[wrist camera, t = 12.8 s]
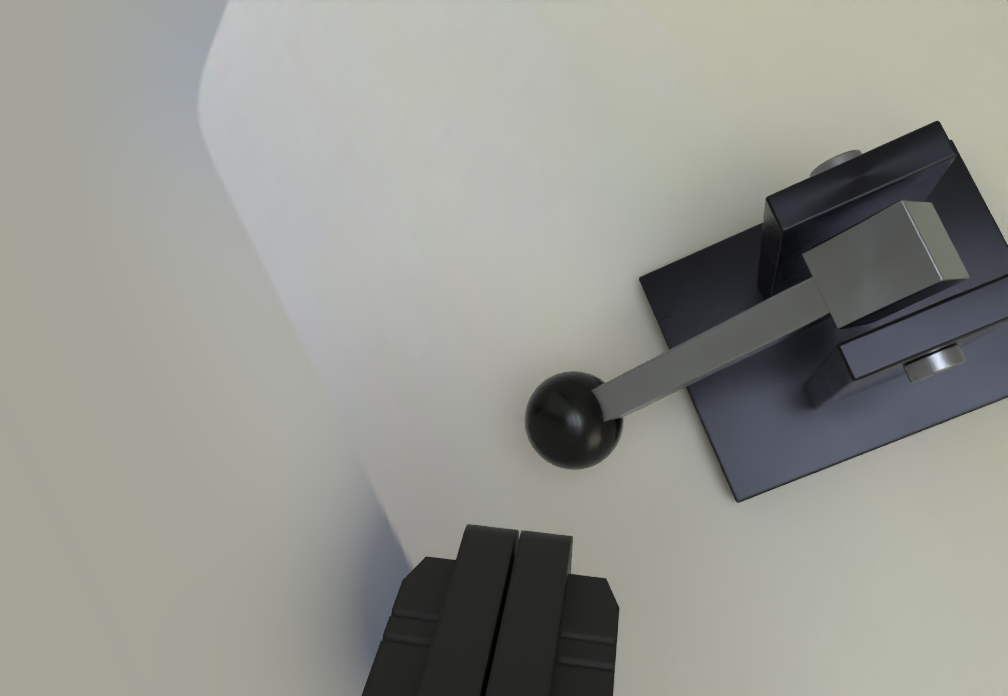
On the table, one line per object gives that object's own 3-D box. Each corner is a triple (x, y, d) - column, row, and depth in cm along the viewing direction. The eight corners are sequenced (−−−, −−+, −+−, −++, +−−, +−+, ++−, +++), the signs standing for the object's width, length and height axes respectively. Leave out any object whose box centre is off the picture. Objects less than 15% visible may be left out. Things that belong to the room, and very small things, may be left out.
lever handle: (584, 473, 33) (527, 491, 31) (550, 388, 34) (491, 399, 31) (983, 294, 24) (948, 300, 22) (927, 185, 25) (887, 179, 23)
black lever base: (736, 502, 35) (736, 521, 23) (641, 283, 37) (592, 191, 25) (1063, 374, 33) (1257, 319, 21) (944, 149, 35) (1058, -25, 23)
